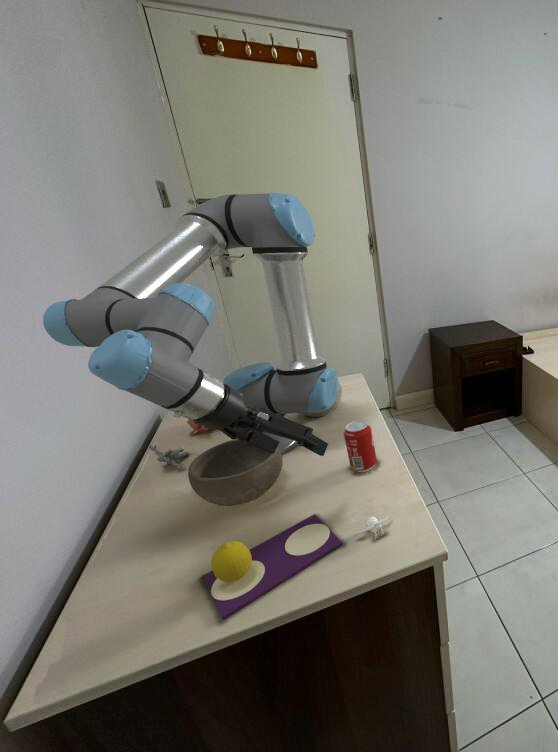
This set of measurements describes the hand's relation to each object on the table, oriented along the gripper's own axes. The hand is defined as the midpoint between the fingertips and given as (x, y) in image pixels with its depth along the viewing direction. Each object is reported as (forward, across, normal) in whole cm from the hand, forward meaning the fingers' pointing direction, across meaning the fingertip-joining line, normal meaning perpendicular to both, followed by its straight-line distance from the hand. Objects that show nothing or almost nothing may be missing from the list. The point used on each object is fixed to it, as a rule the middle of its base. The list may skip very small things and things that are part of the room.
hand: (299, 448), depth 83 cm
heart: (+16, -56, +11) cm, 59 cm away
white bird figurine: (+12, +16, -13) cm, 24 cm away
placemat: (+3, +3, -21) cm, 21 cm away
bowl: (+9, -20, -8) cm, 24 cm away
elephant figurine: (+7, -48, -3) cm, 49 cm away
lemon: (-1, 0, -25) cm, 25 cm away
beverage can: (+20, 0, +3) cm, 21 cm away
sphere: (+29, -32, +23) cm, 49 cm away
